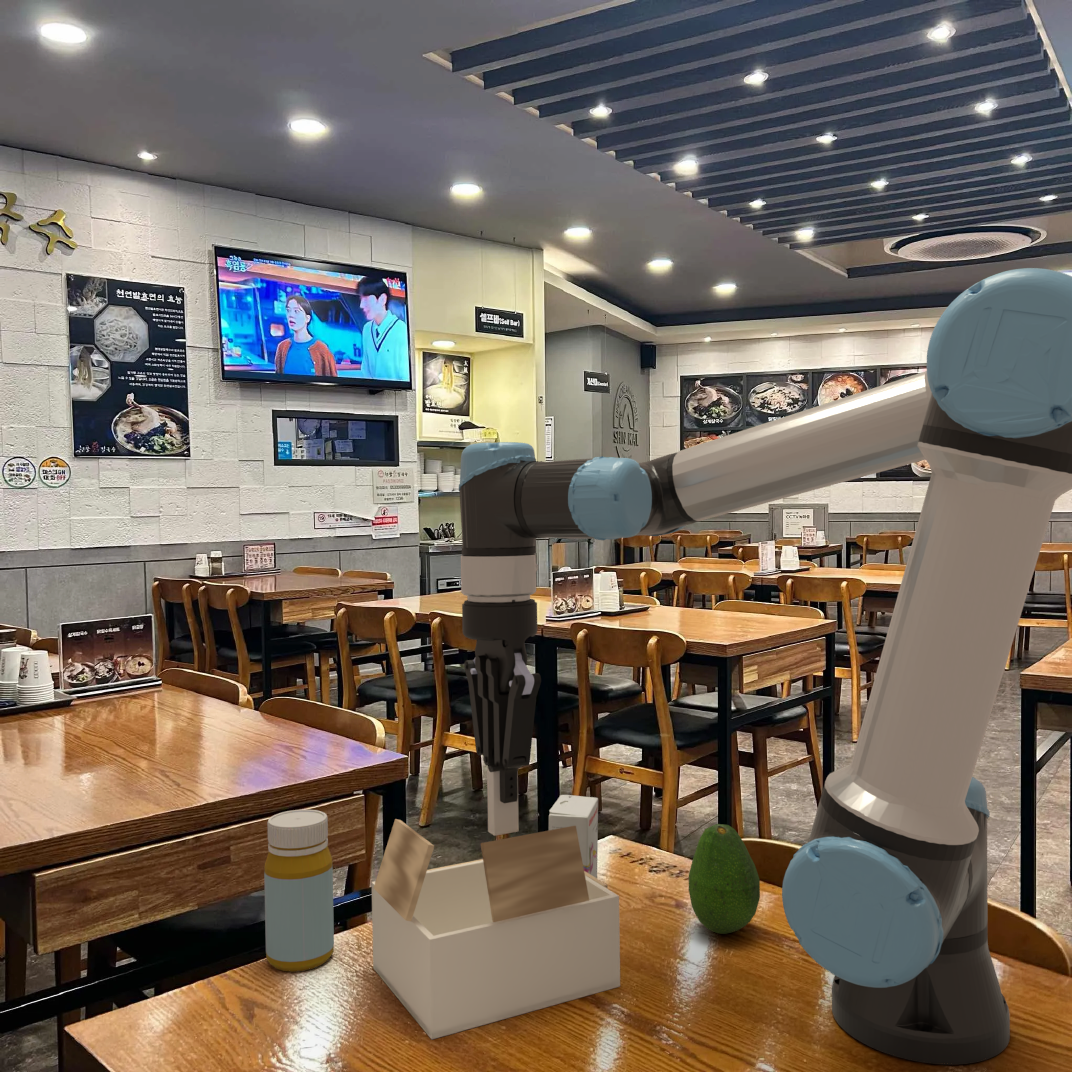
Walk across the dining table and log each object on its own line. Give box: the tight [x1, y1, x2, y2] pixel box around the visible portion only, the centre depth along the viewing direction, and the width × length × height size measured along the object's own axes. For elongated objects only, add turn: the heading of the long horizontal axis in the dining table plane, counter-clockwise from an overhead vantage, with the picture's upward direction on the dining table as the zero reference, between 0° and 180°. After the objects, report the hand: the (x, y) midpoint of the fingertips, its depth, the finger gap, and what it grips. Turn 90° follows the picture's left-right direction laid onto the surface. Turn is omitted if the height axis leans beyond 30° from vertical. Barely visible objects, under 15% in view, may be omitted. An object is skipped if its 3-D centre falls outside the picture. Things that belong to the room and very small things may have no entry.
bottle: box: [263, 809, 335, 973], centre depth 105 cm, size 7×7×15 cm
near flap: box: [480, 826, 589, 922], centre depth 94 cm, size 1×10×7 cm, turn 119°
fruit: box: [688, 823, 761, 935], centre depth 110 cm, size 8×8×12 cm
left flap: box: [374, 818, 435, 921], centre depth 95 cm, size 9×1×7 cm, turn 28°
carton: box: [371, 858, 621, 1040], centre depth 101 cm, size 17×21×9 cm
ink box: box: [548, 794, 599, 879], centre depth 119 cm, size 9×5×12 cm, turn 168°
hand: (503, 831), depth 100 cm, fingers closed
